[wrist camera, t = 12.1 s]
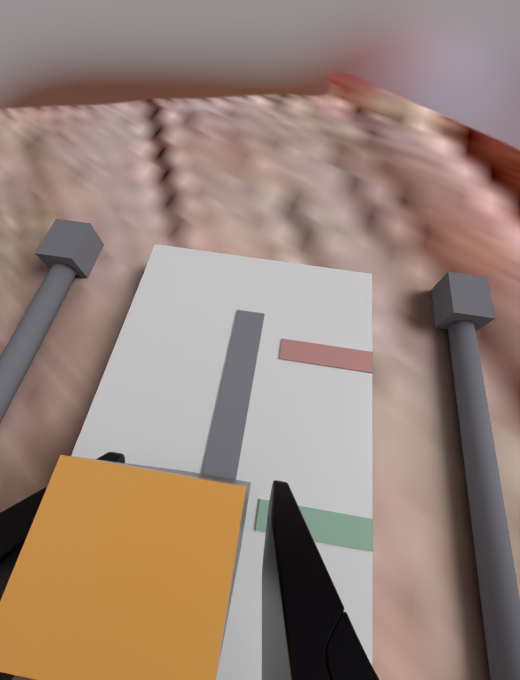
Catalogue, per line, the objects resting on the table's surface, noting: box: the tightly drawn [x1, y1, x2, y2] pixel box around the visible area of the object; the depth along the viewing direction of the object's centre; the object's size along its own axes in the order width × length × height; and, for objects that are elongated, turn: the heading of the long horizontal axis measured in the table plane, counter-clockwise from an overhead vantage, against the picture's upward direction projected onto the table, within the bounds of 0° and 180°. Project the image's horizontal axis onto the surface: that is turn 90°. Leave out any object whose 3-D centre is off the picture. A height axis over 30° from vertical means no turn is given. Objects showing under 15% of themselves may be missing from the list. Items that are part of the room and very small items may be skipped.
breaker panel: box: [71, 244, 373, 680], centre depth 16 cm, size 20×14×2 cm
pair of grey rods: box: [0, 219, 520, 680], centre depth 16 cm, size 22×28×2 cm
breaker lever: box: [0, 455, 251, 680], centre depth 9 cm, size 2×3×10 cm
